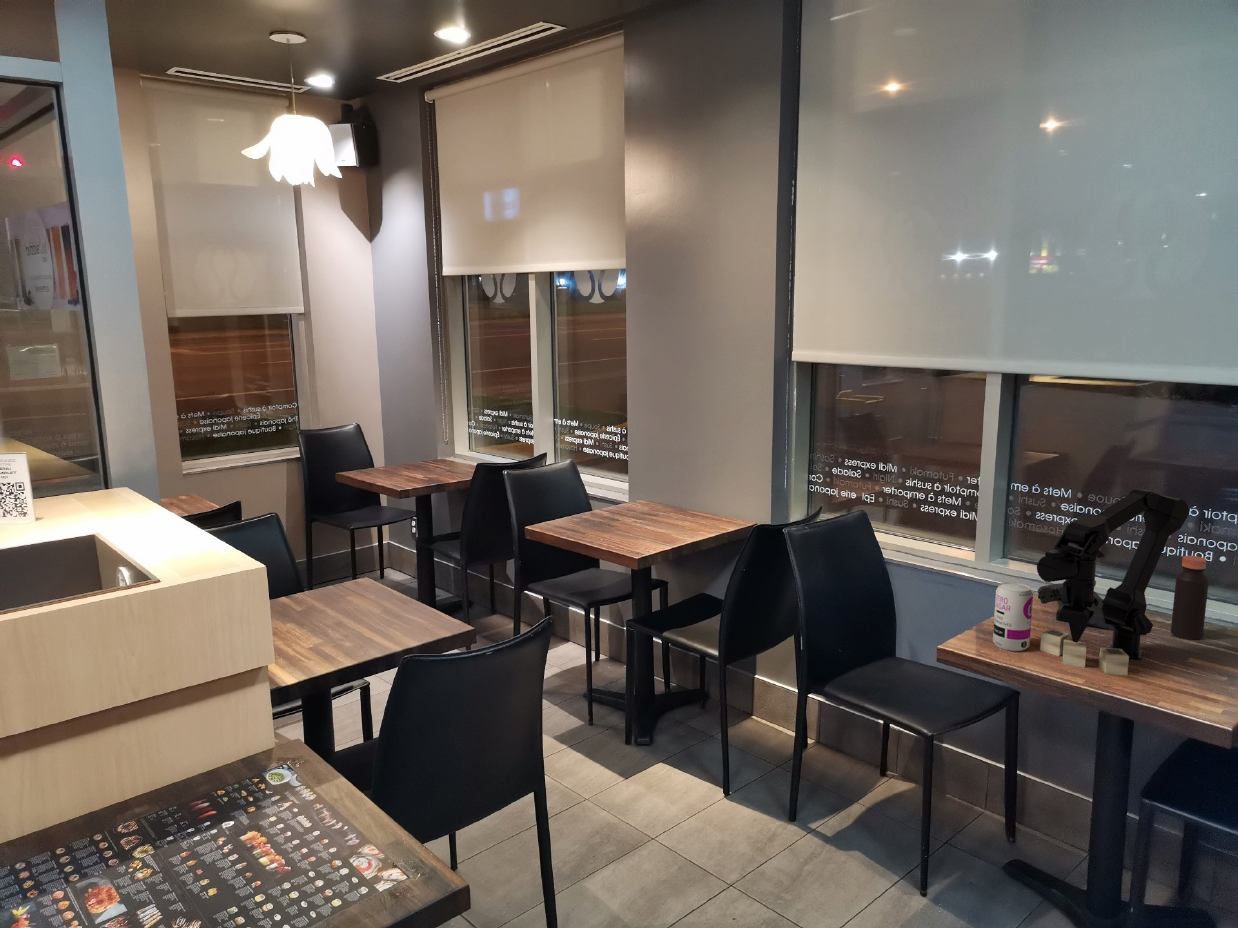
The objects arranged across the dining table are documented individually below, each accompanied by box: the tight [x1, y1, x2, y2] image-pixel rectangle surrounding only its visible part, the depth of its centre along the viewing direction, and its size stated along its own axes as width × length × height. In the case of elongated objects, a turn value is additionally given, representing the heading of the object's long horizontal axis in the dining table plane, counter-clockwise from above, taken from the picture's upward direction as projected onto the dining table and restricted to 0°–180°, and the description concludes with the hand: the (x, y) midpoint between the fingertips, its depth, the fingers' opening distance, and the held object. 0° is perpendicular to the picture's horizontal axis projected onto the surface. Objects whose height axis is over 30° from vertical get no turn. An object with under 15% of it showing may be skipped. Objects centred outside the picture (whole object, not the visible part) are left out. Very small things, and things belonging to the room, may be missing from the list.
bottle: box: [1170, 555, 1210, 640], centre depth 215 cm, size 7×7×20 cm
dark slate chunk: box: [1056, 596, 1114, 631], centre depth 231 cm, size 15×22×5 cm
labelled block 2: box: [1098, 647, 1130, 676], centre depth 195 cm, size 4×4×5 cm
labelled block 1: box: [1039, 628, 1070, 657], centre depth 207 cm, size 4×4×5 cm
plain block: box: [1062, 639, 1087, 669], centre depth 200 cm, size 4×4×4 cm
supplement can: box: [992, 582, 1034, 652], centre depth 210 cm, size 8×8×15 cm
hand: (1075, 641), depth 200 cm, fingers closed
